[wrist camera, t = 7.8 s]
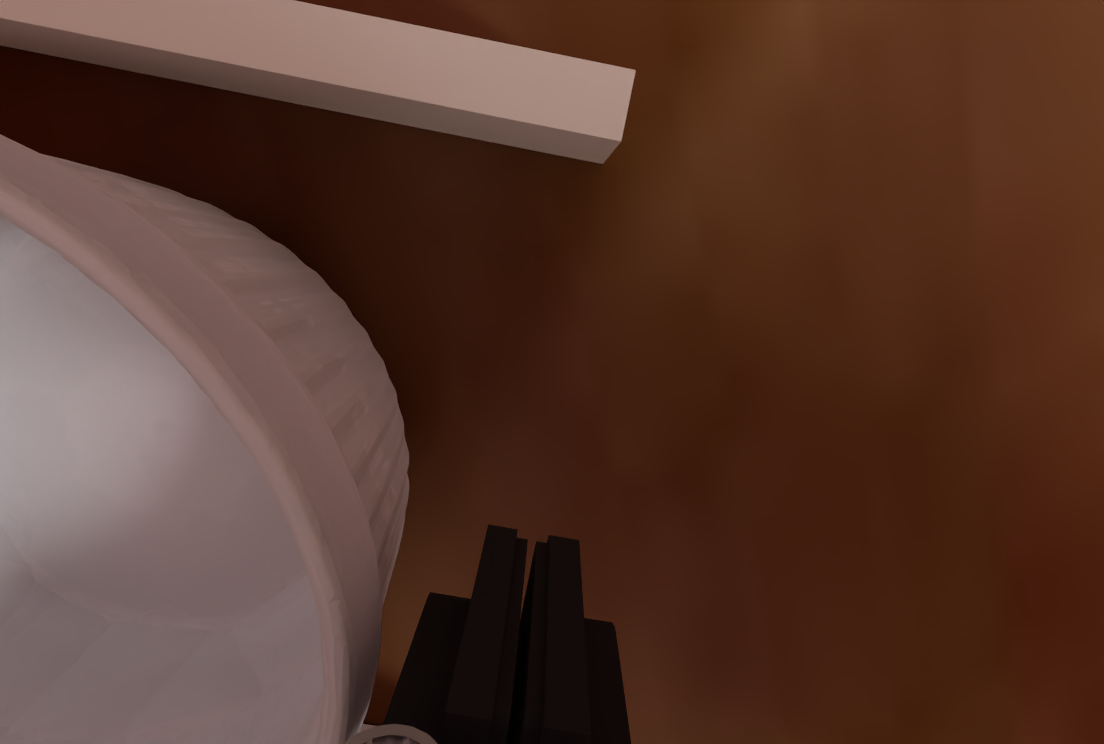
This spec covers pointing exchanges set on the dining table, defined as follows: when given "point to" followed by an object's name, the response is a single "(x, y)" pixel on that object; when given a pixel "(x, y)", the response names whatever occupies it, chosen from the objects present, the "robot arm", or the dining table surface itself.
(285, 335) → the ramekin
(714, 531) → the dining table surface
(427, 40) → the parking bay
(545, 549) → the robot arm
